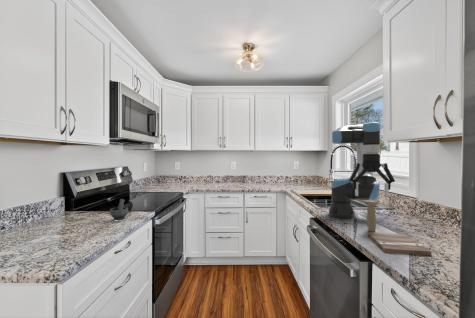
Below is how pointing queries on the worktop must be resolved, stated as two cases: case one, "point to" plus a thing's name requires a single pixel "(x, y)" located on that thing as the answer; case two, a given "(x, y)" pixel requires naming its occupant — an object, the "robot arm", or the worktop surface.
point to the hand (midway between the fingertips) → (371, 196)
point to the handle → (371, 214)
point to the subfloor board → (398, 244)
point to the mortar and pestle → (119, 211)
